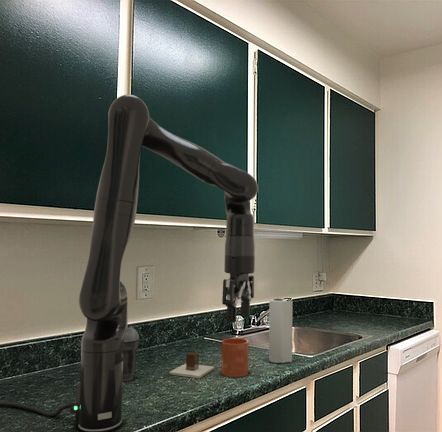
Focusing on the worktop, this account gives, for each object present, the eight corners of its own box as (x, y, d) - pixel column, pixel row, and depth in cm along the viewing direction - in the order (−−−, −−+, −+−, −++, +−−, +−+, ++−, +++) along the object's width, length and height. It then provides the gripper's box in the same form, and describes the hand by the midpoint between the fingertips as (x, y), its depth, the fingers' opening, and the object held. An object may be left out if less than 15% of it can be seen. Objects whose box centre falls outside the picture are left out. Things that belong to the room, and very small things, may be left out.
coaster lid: (169, 374, 140) (169, 355, 141) (185, 365, 150) (186, 348, 151) (199, 378, 137) (199, 359, 137) (214, 369, 147) (214, 351, 147)
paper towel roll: (265, 360, 158) (266, 299, 159) (278, 357, 161) (278, 297, 162) (278, 365, 152) (279, 301, 153) (292, 362, 156) (292, 300, 157)
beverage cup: (115, 384, 131) (117, 314, 132) (111, 377, 137) (113, 310, 138) (140, 380, 134) (142, 312, 135) (135, 374, 140) (137, 309, 141)
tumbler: (216, 375, 140) (217, 342, 141) (227, 367, 148) (228, 337, 149) (242, 378, 137) (242, 345, 138) (252, 370, 145) (252, 339, 146)
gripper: (237, 252, 121) (236, 313, 120) (213, 254, 107) (212, 323, 107) (263, 253, 118) (262, 316, 117) (242, 255, 105) (241, 325, 104)
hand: (238, 319), depth 112 cm, fingers open, 8 cm apart
